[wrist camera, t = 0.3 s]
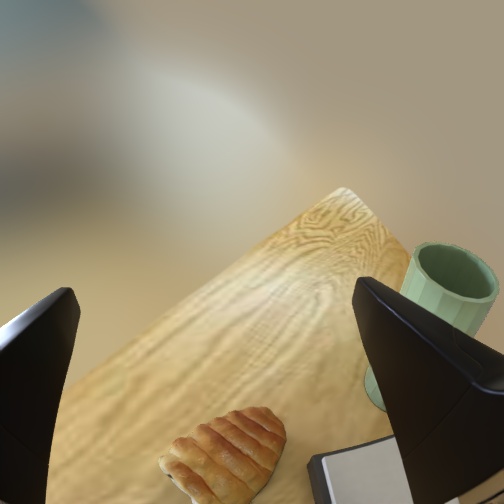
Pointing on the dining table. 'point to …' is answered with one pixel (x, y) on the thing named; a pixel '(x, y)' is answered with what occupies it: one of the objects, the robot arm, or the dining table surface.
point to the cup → (446, 292)
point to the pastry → (227, 457)
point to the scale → (361, 475)
